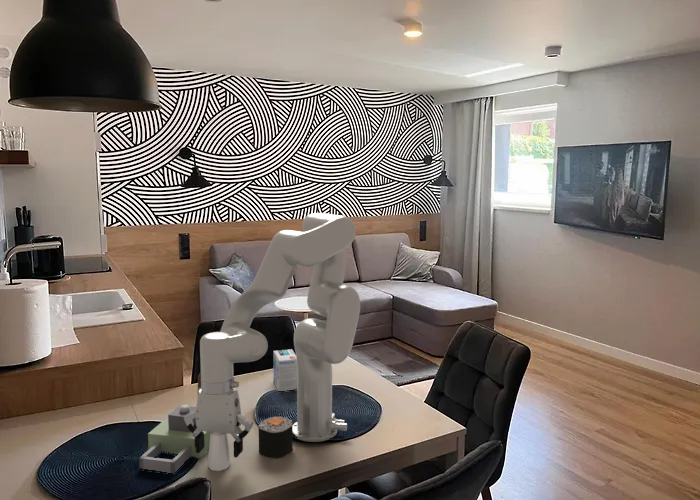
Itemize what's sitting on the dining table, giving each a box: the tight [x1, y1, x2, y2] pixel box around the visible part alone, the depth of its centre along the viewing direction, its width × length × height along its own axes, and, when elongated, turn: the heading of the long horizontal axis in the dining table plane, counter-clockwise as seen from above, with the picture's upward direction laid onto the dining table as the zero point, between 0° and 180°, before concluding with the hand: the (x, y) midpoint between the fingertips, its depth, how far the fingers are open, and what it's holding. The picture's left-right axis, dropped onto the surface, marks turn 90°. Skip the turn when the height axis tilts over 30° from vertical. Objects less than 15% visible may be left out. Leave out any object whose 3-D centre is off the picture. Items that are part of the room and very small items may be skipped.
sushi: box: [257, 415, 294, 459], centre depth 140 cm, size 8×8×8 cm
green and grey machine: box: [138, 404, 211, 475], centre depth 138 cm, size 14×18×10 cm
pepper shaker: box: [207, 432, 231, 472], centre depth 133 cm, size 5×5×11 cm
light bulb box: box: [272, 348, 297, 392], centre depth 183 cm, size 11×7×11 cm, turn 17°
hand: (218, 452), depth 133 cm, fingers open, 9 cm apart
